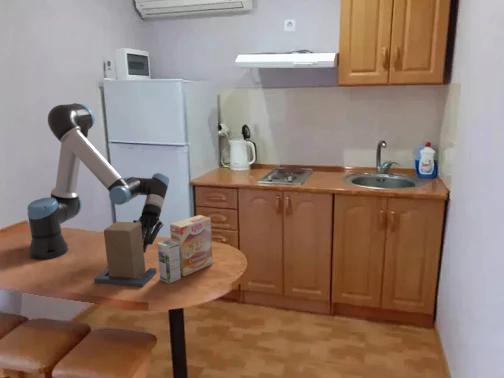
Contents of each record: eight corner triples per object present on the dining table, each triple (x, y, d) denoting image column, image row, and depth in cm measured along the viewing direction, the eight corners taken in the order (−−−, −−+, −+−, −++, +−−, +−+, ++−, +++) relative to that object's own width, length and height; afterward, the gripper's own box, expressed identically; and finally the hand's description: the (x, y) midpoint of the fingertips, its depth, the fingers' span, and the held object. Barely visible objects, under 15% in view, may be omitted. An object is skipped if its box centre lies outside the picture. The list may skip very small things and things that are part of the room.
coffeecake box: (183, 276, 157) (180, 227, 152) (172, 271, 162) (168, 223, 157) (213, 264, 167) (211, 217, 163) (202, 259, 172) (199, 214, 168)
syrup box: (159, 279, 155) (156, 242, 151) (172, 274, 159) (169, 238, 156) (168, 284, 151) (165, 246, 148) (181, 278, 155) (179, 242, 152)
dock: (94, 283, 153) (94, 278, 153) (111, 269, 164) (110, 265, 164) (142, 287, 150) (142, 281, 149) (156, 273, 160) (155, 268, 160)
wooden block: (133, 283, 153) (128, 231, 148) (108, 281, 155) (102, 229, 150) (145, 271, 162) (141, 222, 158) (122, 269, 164) (117, 221, 160)
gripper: (170, 212, 179) (156, 264, 167) (142, 210, 182) (126, 262, 170) (164, 203, 172) (149, 257, 161) (135, 202, 175) (118, 255, 164)
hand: (137, 259), depth 165 cm, fingers closed
